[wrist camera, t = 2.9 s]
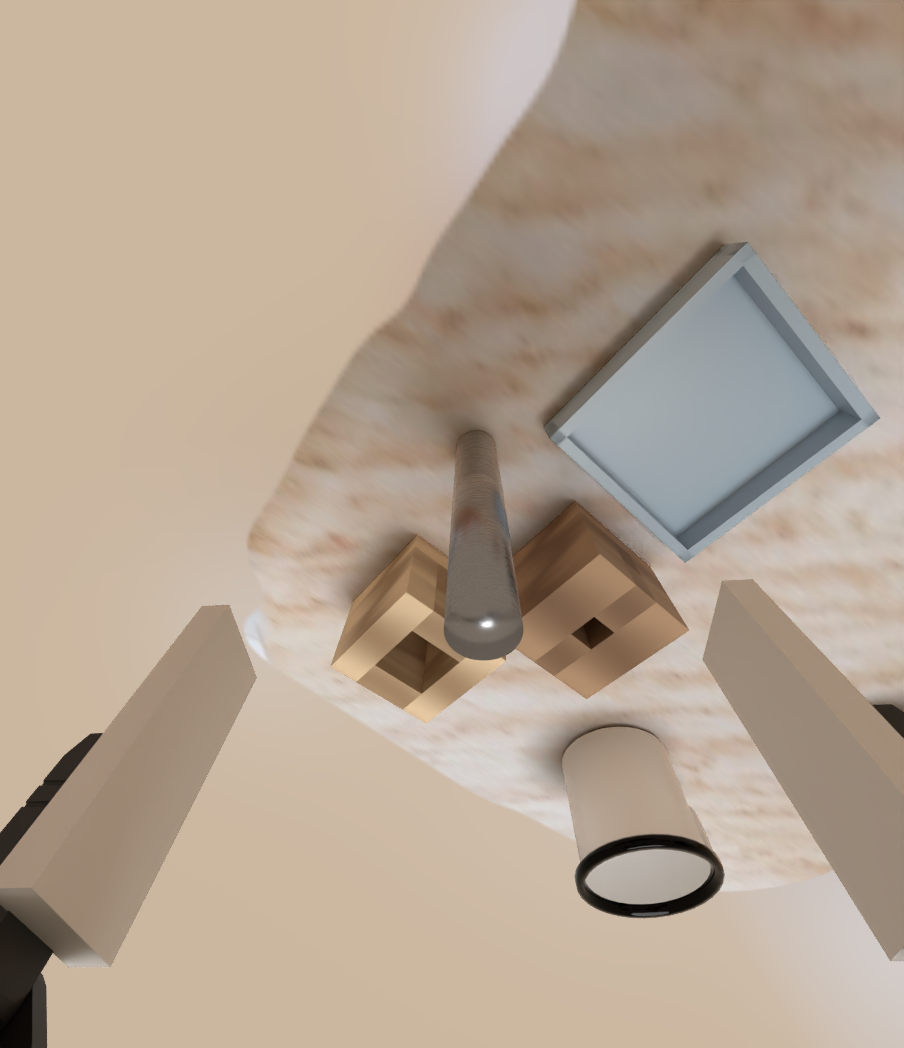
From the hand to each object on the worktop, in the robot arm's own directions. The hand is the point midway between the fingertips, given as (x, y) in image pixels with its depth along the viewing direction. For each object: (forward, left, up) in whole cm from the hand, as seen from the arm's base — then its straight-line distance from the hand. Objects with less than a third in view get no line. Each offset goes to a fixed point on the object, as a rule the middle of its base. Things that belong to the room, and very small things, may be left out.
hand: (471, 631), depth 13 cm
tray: (-9, +8, -15) cm, 19 cm away
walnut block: (+2, +10, -15) cm, 18 cm away
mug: (+12, +28, -15) cm, 34 cm away
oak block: (+10, +5, -15) cm, 19 cm away
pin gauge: (0, 0, -15) cm, 15 cm away
